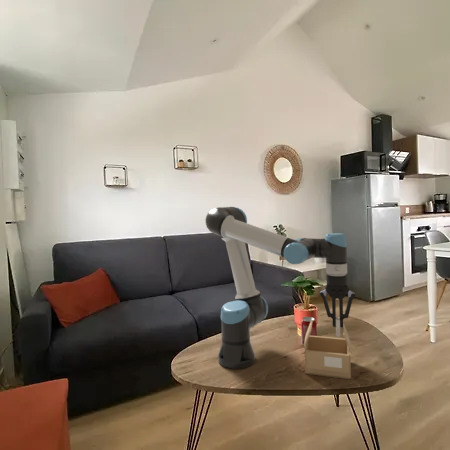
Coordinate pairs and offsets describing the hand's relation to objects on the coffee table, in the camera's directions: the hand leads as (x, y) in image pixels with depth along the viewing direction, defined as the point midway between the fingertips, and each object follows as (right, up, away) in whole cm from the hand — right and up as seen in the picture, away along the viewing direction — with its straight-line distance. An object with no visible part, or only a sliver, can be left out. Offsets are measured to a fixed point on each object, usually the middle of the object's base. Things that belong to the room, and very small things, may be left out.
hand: (338, 335), depth 121 cm
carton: (-3, -13, +2) cm, 14 cm away
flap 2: (+3, 0, -1) cm, 3 cm away
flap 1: (-10, -1, +3) cm, 11 cm away
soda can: (-5, -12, +23) cm, 26 cm away
